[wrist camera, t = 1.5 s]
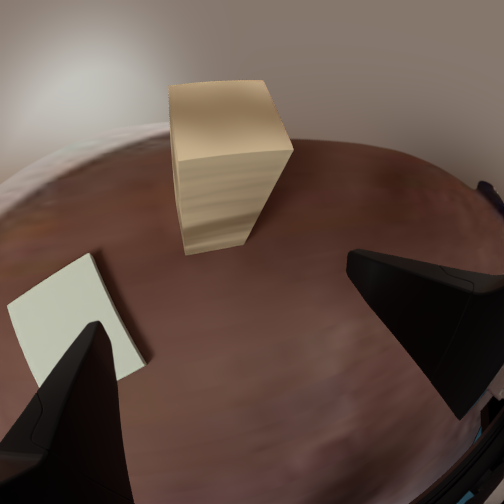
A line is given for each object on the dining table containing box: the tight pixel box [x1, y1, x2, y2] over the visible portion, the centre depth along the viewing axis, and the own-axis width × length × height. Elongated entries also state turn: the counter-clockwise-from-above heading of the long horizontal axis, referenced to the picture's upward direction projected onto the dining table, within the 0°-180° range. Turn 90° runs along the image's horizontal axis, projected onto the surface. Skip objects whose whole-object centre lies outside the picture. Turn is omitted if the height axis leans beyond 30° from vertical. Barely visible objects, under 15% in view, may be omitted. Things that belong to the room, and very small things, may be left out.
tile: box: [7, 253, 147, 388], centre depth 18 cm, size 10×10×1 cm
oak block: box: [169, 80, 294, 256], centre depth 18 cm, size 5×5×13 cm
